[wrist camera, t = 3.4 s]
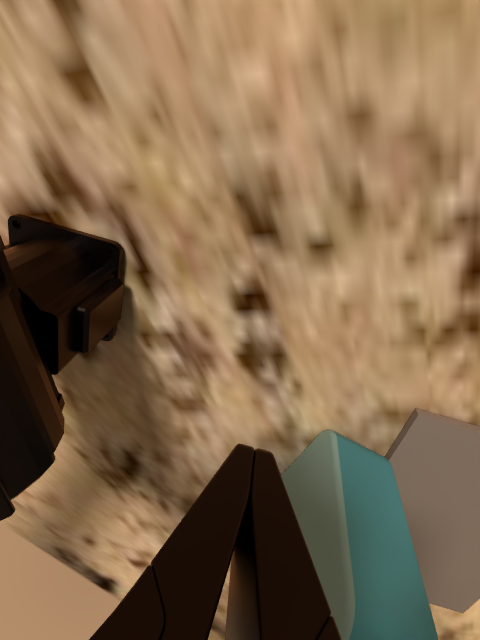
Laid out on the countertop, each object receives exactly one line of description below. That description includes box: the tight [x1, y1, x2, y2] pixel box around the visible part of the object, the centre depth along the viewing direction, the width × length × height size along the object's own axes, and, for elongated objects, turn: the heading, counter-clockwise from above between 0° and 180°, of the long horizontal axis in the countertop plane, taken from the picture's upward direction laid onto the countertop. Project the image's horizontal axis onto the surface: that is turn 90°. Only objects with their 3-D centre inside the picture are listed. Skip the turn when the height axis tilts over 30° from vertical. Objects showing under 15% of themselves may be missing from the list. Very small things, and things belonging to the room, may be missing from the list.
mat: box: [385, 408, 480, 613], centre depth 27 cm, size 12×18×1 cm
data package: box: [281, 430, 438, 640], centre depth 22 cm, size 12×4×12 cm, turn 153°
